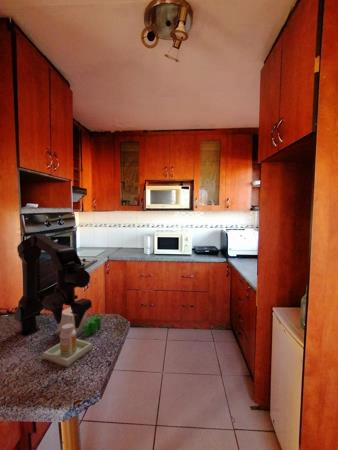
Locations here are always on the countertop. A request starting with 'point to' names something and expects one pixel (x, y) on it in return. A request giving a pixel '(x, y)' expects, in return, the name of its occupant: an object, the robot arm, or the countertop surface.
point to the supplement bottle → (68, 340)
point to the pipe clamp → (92, 325)
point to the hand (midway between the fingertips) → (67, 325)
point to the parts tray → (66, 361)
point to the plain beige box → (70, 322)
